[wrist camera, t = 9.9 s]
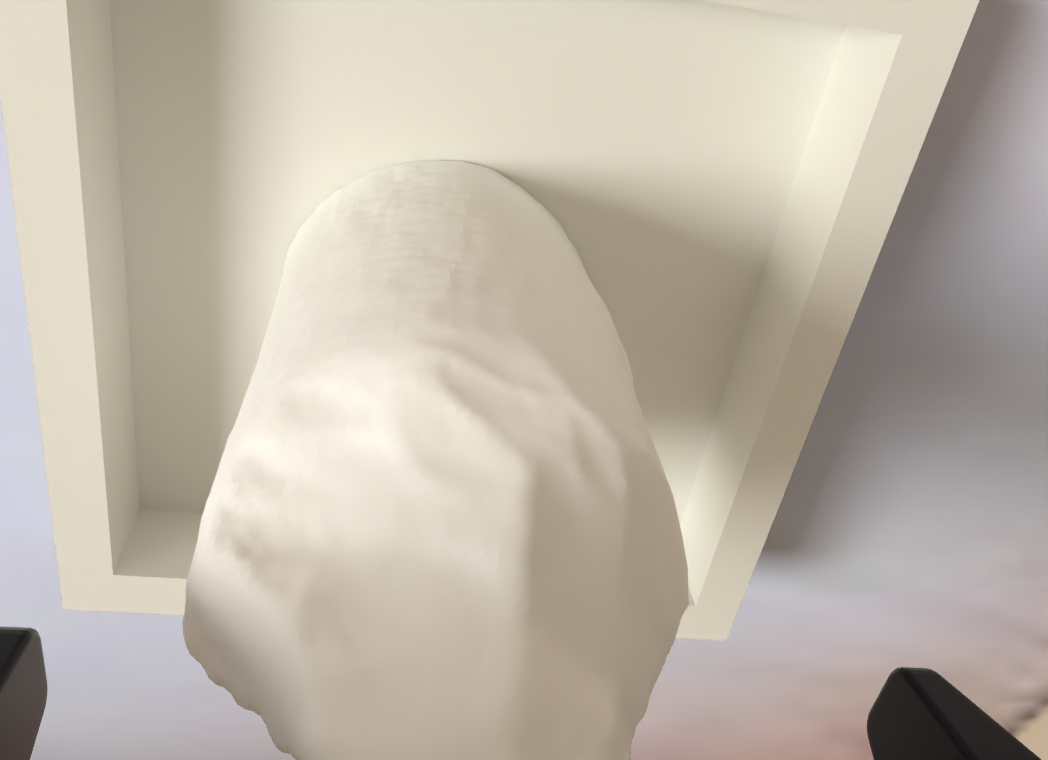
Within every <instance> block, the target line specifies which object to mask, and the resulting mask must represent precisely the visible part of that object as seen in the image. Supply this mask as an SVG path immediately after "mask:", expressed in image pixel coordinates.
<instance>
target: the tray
mask: <svg viewBox="0 0 1048 760" xmlns="http://www.w3.org/2000/svg"><path fill="white" fill-rule="evenodd" d="M979 1H980V0H0V98H1V106H2V114H3V122H4V131H5V139H6V147H7V155H8V163H9V172H10V180H11V188H12V196H13V204H14V212H15V221H16V229H17V237H18V245H19V253H20V262H21V270H22V278H23V286H24V294H25V302H26V311H27V319H28V327H29V335H30V343H31V352H32V360H33V368H34V376H35V384H36V392H37V401H38V409H39V417H40V425H41V433H42V442H43V450H44V458H45V466H46V474H47V482H48V491H49V499H50V507H51V515H52V523H53V532H54V540H55V548H56V556H57V564H58V572H59V581H60V589H61V597H62V605H63V609H69V610H90V611H111V612H132V613H154V614H175V615H184V612H185V603H186V584H187V577H188V574H189V571H190V567H191V564H192V560H193V556H194V552H195V548H196V544H197V541H198V534H199V528H200V523H201V517H202V514H203V512H204V508H205V505H206V501H207V499H208V497H209V494H210V491H211V488H212V485H213V482H214V480H215V477H216V474H217V471H218V468H219V464H220V461H221V458H222V455H223V452H224V450H225V446H226V443H227V440H228V437H229V435H230V433H231V431H232V429H233V427H234V425H235V422H236V420H237V417H238V414H239V411H240V408H241V406H242V403H243V399H244V397H245V394H246V391H247V389H248V387H249V384H250V380H251V377H252V375H253V372H254V370H255V367H256V364H257V361H258V358H259V355H260V351H261V347H262V344H263V340H264V337H265V334H266V332H267V328H268V325H269V321H270V318H271V315H272V311H273V307H274V304H275V301H276V298H277V293H278V289H279V286H280V282H281V278H282V275H283V271H284V264H285V261H286V257H287V252H288V250H289V248H290V246H291V244H292V242H293V241H294V239H295V237H296V235H297V233H298V231H299V229H300V228H301V226H302V225H303V224H304V222H305V221H306V220H307V219H308V218H309V217H310V216H311V215H312V213H313V212H314V211H315V209H316V208H317V207H318V206H319V205H320V203H322V202H323V201H324V200H326V199H327V198H328V197H329V196H330V195H331V194H333V193H334V192H335V191H337V190H339V189H342V188H343V187H345V186H347V185H348V184H349V183H351V182H352V181H353V180H355V179H357V178H359V177H362V176H364V175H367V174H368V173H370V172H372V171H376V170H380V169H383V168H385V167H388V166H393V165H397V164H401V163H406V162H416V161H434V160H440V161H463V162H466V163H470V164H475V165H480V166H483V167H486V168H489V169H492V170H494V171H496V172H498V173H499V174H501V175H502V176H504V177H505V178H507V179H508V180H511V181H513V182H514V183H515V184H517V185H518V186H520V187H521V188H523V189H524V190H525V191H526V192H528V193H529V194H530V195H531V196H532V197H533V198H534V199H536V200H537V201H538V202H540V203H541V204H542V205H543V206H544V207H545V208H546V209H547V210H548V211H549V212H550V213H551V214H552V215H553V216H554V217H555V218H556V220H557V221H558V222H559V224H560V225H561V226H562V227H563V229H564V230H565V232H566V235H567V237H568V239H569V240H570V241H571V243H572V244H573V245H574V246H575V247H576V249H577V252H578V255H579V256H580V258H581V261H582V264H583V266H584V268H585V271H586V273H587V276H588V278H589V279H590V281H591V283H592V285H593V287H594V288H595V290H596V291H597V293H598V294H599V296H600V297H601V299H602V300H603V302H604V303H605V305H606V307H607V309H608V311H609V313H610V316H611V318H612V321H613V324H614V326H615V329H616V331H617V334H618V336H619V339H620V341H621V343H622V345H623V347H624V350H625V352H626V354H627V357H628V361H629V364H630V368H631V371H632V375H633V384H634V391H635V396H636V398H637V401H638V403H639V405H640V408H641V411H642V414H643V418H644V420H645V423H646V426H647V428H648V430H649V431H650V433H651V437H652V440H653V443H654V446H655V449H656V451H657V453H658V455H659V458H660V462H661V465H662V467H663V470H664V473H665V475H666V479H667V481H668V483H669V485H670V488H671V491H672V494H673V497H674V502H675V506H676V510H677V514H678V519H679V523H680V527H681V533H682V537H683V543H684V549H685V554H686V560H687V566H688V598H689V604H688V607H687V609H686V610H685V612H684V613H683V615H682V618H681V621H680V625H679V628H678V631H677V634H676V637H675V638H684V639H705V640H727V637H728V635H729V632H730V630H731V627H732V624H733V622H734V619H735V617H736V614H737V612H738V609H739V607H740V604H741V602H742V599H743V597H744V594H745V592H746V589H747V587H748V584H749V582H750V579H751V577H752V574H753V571H754V569H755V566H756V564H757V561H758V559H759V556H760V554H761V551H762V549H763V546H764V544H765V541H766V539H767V536H768V534H769V531H770V529H771V526H772V523H773V521H774V518H775V516H776V513H777V511H778V508H779V506H780V503H781V501H782V498H783V496H784V493H785V491H786V488H787V486H788V483H789V481H790V478H791V475H792V473H793V470H794V468H795V465H796V463H797V460H798V458H799V455H800V453H801V450H802V448H803V445H804V443H805V440H806V438H807V435H808V433H809V430H810V428H811V425H812V422H813V420H814V417H815V415H816V412H817V410H818V407H819V405H820V402H821V400H822V397H823V395H824V392H825V390H826V387H827V385H828V382H829V380H830V377H831V374H832V372H833V369H834V367H835V364H836V362H837V359H838V357H839V354H840V352H841V349H842V347H843V344H844V342H845V339H846V337H847V334H848V332H849V329H850V326H851V324H852V321H853V319H854V316H855V314H856V311H857V309H858V306H859V304H860V301H861V299H862V296H863V294H864V291H865V289H866V286H867V284H868V281H869V279H870V276H871V273H872V271H873V268H874V266H875V263H876V261H877V258H878V256H879V253H880V251H881V248H882V246H883V243H884V241H885V238H886V236H887V233H888V231H889V228H890V225H891V223H892V220H893V218H894V215H895V213H896V210H897V208H898V205H899V203H900V200H901V198H902V195H903V193H904V190H905V188H906V185H907V183H908V180H909V178H910V175H911V172H912V170H913V167H914V165H915V162H916V160H917V157H918V155H919V152H920V150H921V147H922V145H923V142H924V140H925V137H926V135H927V132H928V130H929V127H930V124H931V122H932V119H933V117H934V114H935V112H936V109H937V107H938V104H939V102H940V99H941V97H942V94H943V92H944V89H945V87H946V84H947V82H948V79H949V76H950V74H951V71H952V69H953V66H954V64H955V61H956V59H957V56H958V54H959V51H960V49H961V46H962V44H963V41H964V39H965V36H966V34H967V31H968V29H969V26H970V23H971V21H972V18H973V16H974V13H975V11H976V8H977V6H978V3H979Z"/></svg>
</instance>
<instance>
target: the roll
mask: <svg viewBox="0 0 1048 760" xmlns="http://www.w3.org/2000/svg"><path fill="white" fill-rule="evenodd" d="M688 604H689V598H688V566H687V560H686V554H685V549H684V543H683V537H682V533H681V527H680V523H679V519H678V514H677V510H676V506H675V502H674V497H673V494H672V491H671V488H670V485H669V483H668V481H667V479H666V475H665V473H664V470H663V467H662V465H661V462H660V458H659V455H658V453H657V451H656V449H655V446H654V443H653V440H652V437H651V433H650V431H649V430H648V428H647V426H646V423H645V420H644V418H643V414H642V411H641V408H640V405H639V403H638V401H637V398H636V396H635V391H634V384H633V375H632V371H631V368H630V364H629V361H628V357H627V354H626V352H625V350H624V347H623V345H622V343H621V341H620V339H619V336H618V334H617V331H616V329H615V326H614V324H613V321H612V318H611V316H610V313H609V311H608V309H607V307H606V305H605V303H604V302H603V300H602V299H601V297H600V296H599V294H598V293H597V291H596V290H595V288H594V287H593V285H592V283H591V281H590V279H589V278H588V276H587V273H586V271H585V268H584V266H583V264H582V261H581V258H580V256H579V255H578V252H577V249H576V247H575V246H574V245H573V244H572V243H571V241H570V240H569V239H568V237H567V235H566V232H565V230H564V229H563V227H562V226H561V225H560V224H559V222H558V221H557V220H556V218H555V217H554V216H553V215H552V214H551V213H550V212H549V211H548V210H547V209H546V208H545V207H544V206H543V205H542V204H541V203H540V202H538V201H537V200H536V199H534V198H533V197H532V196H531V195H530V194H529V193H528V192H526V191H525V190H524V189H523V188H521V187H520V186H518V185H517V184H515V183H514V182H513V181H511V180H508V179H507V178H505V177H504V176H502V175H501V174H499V173H498V172H496V171H494V170H492V169H489V168H486V167H483V166H480V165H475V164H470V163H466V162H463V161H440V160H434V161H416V162H406V163H401V164H397V165H393V166H388V167H385V168H383V169H380V170H376V171H372V172H370V173H368V174H367V175H364V176H362V177H359V178H357V179H355V180H353V181H352V182H351V183H349V184H348V185H347V186H345V187H343V188H342V189H339V190H337V191H335V192H334V193H333V194H331V195H330V196H329V197H328V198H327V199H326V200H324V201H323V202H322V203H320V205H319V206H318V207H317V208H316V209H315V211H314V212H313V213H312V215H311V216H310V217H309V218H308V219H307V220H306V221H305V222H304V224H303V225H302V226H301V228H300V229H299V231H298V233H297V235H296V237H295V239H294V241H293V242H292V244H291V246H290V248H289V250H288V252H287V257H286V261H285V264H284V271H283V275H282V278H281V282H280V286H279V289H278V293H277V298H276V301H275V304H274V307H273V311H272V315H271V318H270V321H269V325H268V328H267V332H266V334H265V337H264V340H263V344H262V347H261V351H260V355H259V358H258V361H257V364H256V367H255V370H254V372H253V375H252V377H251V380H250V384H249V387H248V389H247V391H246V394H245V397H244V399H243V403H242V406H241V408H240V411H239V414H238V417H237V420H236V422H235V425H234V427H233V429H232V431H231V433H230V435H229V437H228V440H227V443H226V446H225V450H224V452H223V455H222V458H221V461H220V464H219V468H218V471H217V474H216V477H215V480H214V482H213V485H212V488H211V491H210V494H209V497H208V499H207V501H206V505H205V508H204V512H203V514H202V517H201V523H200V528H199V534H198V541H197V544H196V548H195V552H194V556H193V560H192V564H191V567H190V571H189V574H188V577H187V584H186V603H185V612H184V617H183V635H184V640H185V643H186V646H187V649H188V651H189V653H190V654H191V655H192V656H193V657H194V658H195V659H196V660H197V661H198V662H199V663H200V664H201V665H202V666H203V668H204V669H205V671H206V673H207V675H208V677H209V678H210V679H211V680H212V681H213V682H214V683H215V684H217V685H219V686H222V687H224V688H225V689H226V690H228V691H229V692H230V693H231V694H232V696H233V698H234V699H235V701H236V703H237V704H238V705H240V706H241V707H243V708H245V709H248V710H251V711H254V712H255V713H257V714H259V715H260V716H261V717H262V719H263V721H264V723H265V724H266V727H267V730H268V732H269V734H270V736H271V738H272V740H273V742H274V744H275V746H276V747H277V748H278V749H279V750H280V751H282V752H283V753H291V754H292V756H293V757H294V758H296V759H297V760H630V754H631V742H632V739H633V736H634V732H635V728H636V726H637V724H638V723H639V722H640V720H641V719H642V718H643V716H644V714H645V712H646V710H647V706H648V701H649V697H650V694H651V692H652V689H653V687H654V685H655V682H656V680H657V678H658V676H659V674H660V672H661V670H662V667H663V665H664V663H665V660H666V657H667V655H668V653H669V651H670V649H671V646H672V644H673V642H674V640H675V637H676V634H677V631H678V628H679V625H680V621H681V618H682V615H683V613H684V612H685V610H686V609H687V607H688Z"/></svg>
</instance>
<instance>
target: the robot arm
mask: <svg viewBox="0 0 1048 760" xmlns="http://www.w3.org/2000/svg"><path fill="white" fill-rule="evenodd" d="M46 699H47V679H46V672H45V665H44V658H43V652H42V645H41V639H40V636H39V634H38V632H37V631H36V630H35V629H31V628H22V627H0V760H30V757H31V754H32V750H33V747H34V744H35V740H36V737H37V733H38V730H39V727H40V723H41V720H42V716H43V713H44V709H45V705H46ZM867 733H868V739H869V743H870V747H871V750H872V754H873V758H874V760H1041V759H1040V758H1039V757H1038V756H1036V755H1035V754H1034V753H1033V752H1031V751H1030V750H1029V749H1028V748H1027V747H1026V746H1024V745H1023V744H1022V743H1021V742H1020V741H1018V740H1017V739H1016V738H1015V737H1014V736H1012V735H1011V734H1010V733H1009V732H1008V731H1006V730H1005V729H1004V728H1003V727H1002V726H1000V725H999V724H998V723H997V722H996V721H994V720H993V719H992V718H991V717H990V716H989V715H987V714H986V713H985V712H984V711H983V710H981V709H980V708H979V707H978V706H977V705H975V704H974V703H973V702H972V701H971V700H969V699H968V698H967V697H966V696H965V695H963V694H962V693H961V692H960V691H959V690H957V689H956V688H955V687H954V686H953V685H951V684H950V683H949V682H948V681H947V680H945V679H944V678H943V677H942V676H941V675H939V674H938V673H937V672H935V671H933V670H930V669H926V668H908V667H901V668H897V669H895V670H894V671H892V672H891V674H890V675H889V677H888V679H887V681H886V682H885V684H884V686H883V688H882V690H881V692H880V694H879V695H878V697H877V699H876V701H875V703H874V705H873V707H872V708H871V710H870V713H869V715H868V720H867Z"/></svg>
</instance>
